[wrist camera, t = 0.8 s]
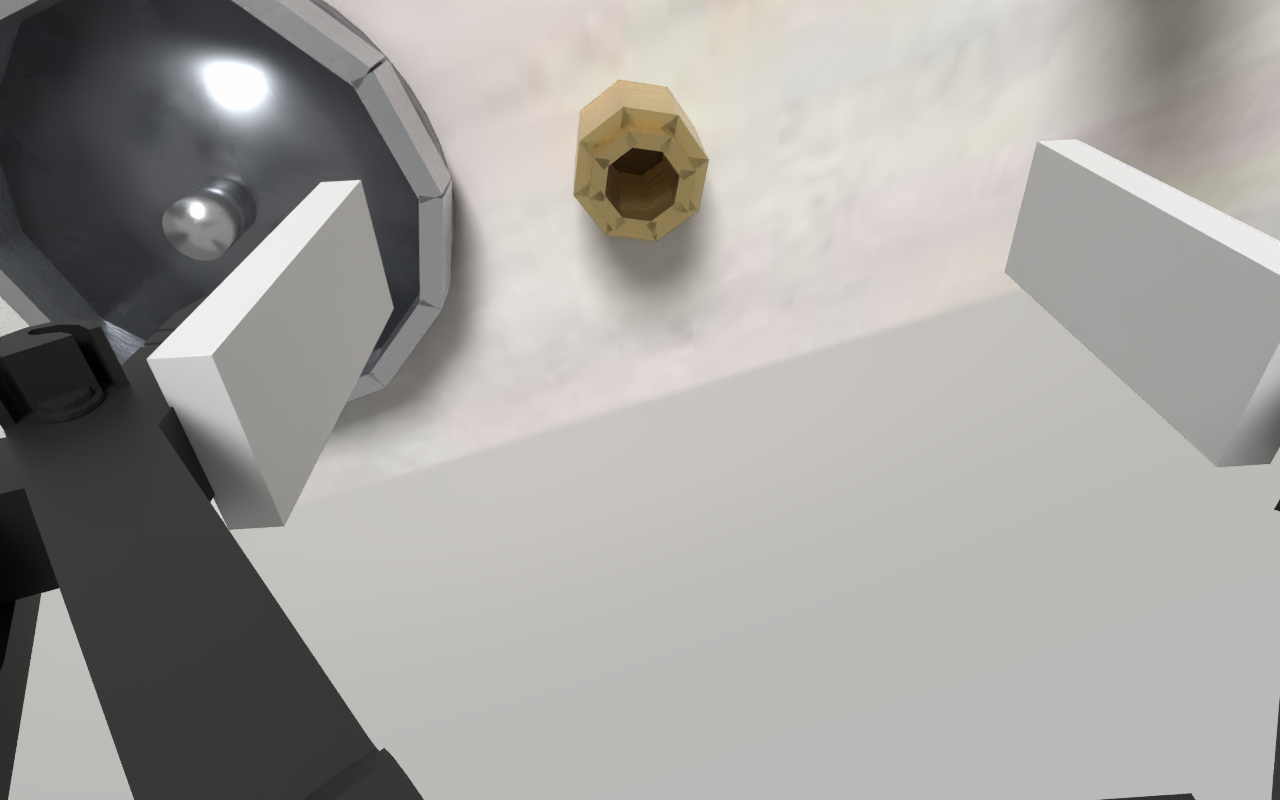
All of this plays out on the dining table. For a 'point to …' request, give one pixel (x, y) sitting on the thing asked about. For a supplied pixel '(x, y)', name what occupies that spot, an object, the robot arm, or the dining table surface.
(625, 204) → the tan octagonal cup
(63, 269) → the dark pot lid
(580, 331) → the dining table surface
